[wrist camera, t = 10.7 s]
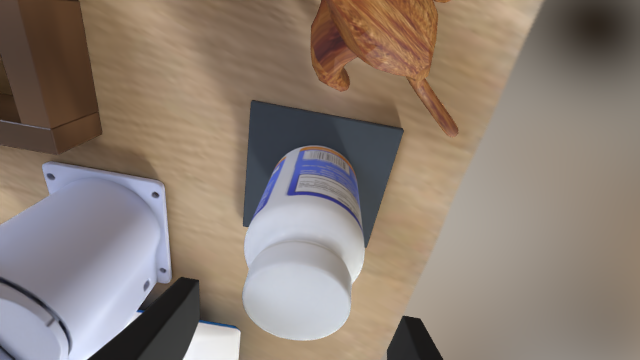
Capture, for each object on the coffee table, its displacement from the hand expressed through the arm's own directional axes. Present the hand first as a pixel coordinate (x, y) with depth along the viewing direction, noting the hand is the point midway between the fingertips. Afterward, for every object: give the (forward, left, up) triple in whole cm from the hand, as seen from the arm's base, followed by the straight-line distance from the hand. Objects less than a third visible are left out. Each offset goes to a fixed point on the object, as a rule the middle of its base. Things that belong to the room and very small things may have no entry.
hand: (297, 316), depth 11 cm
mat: (0, 0, -10) cm, 10 cm away
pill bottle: (0, 0, -10) cm, 10 cm away
